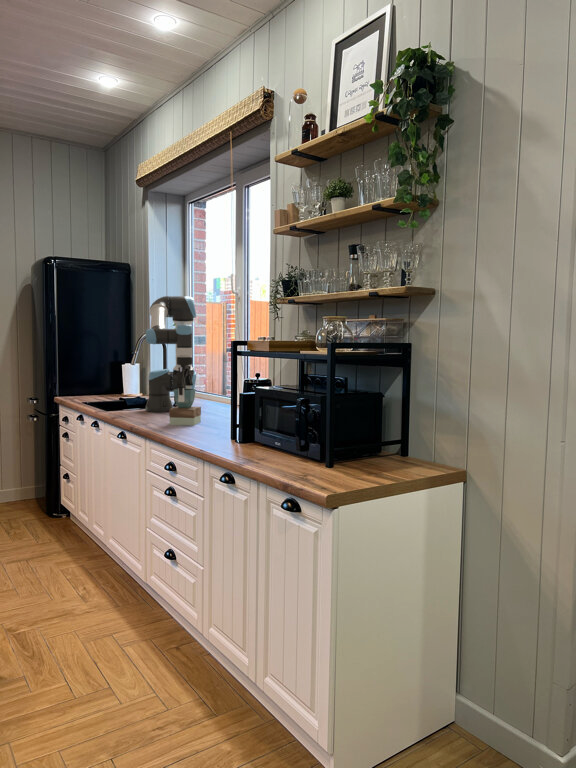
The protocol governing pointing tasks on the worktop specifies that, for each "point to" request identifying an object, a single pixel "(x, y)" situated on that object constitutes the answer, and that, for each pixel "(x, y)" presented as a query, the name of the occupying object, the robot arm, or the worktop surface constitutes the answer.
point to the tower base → (185, 421)
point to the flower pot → (185, 398)
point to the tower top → (184, 412)
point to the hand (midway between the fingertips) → (185, 400)
